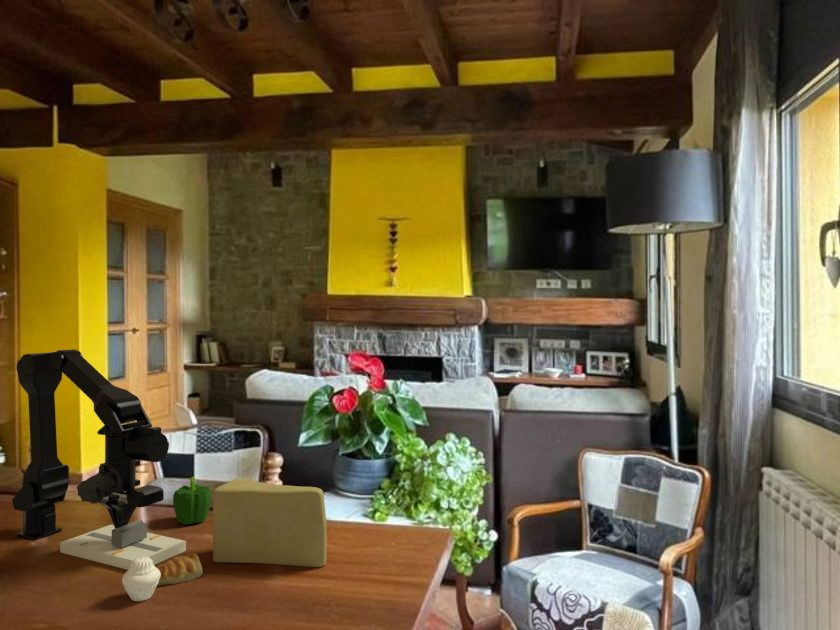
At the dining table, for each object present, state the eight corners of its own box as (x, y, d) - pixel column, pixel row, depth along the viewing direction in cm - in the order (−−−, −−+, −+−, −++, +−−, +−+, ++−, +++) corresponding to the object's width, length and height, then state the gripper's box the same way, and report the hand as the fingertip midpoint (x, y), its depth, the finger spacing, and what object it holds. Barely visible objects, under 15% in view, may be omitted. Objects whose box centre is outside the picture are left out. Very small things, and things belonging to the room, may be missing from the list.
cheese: (334, 557, 129) (335, 483, 128) (315, 576, 119) (316, 496, 119) (236, 545, 134) (237, 475, 134) (210, 563, 125) (211, 487, 124)
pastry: (153, 592, 112) (153, 570, 112) (141, 580, 117) (141, 559, 117) (205, 577, 118) (205, 557, 118) (191, 567, 123) (191, 547, 123)
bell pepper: (203, 528, 144) (204, 484, 144) (167, 527, 144) (168, 483, 144) (216, 516, 153) (216, 474, 153) (182, 515, 153) (182, 474, 153)
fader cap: (111, 544, 127) (111, 527, 127) (136, 535, 133) (136, 518, 133) (122, 547, 126) (122, 529, 126) (146, 537, 131) (146, 520, 131)
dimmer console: (60, 552, 129) (60, 541, 129) (111, 533, 140) (111, 523, 140) (137, 572, 120) (137, 560, 120) (185, 550, 131) (185, 540, 131)
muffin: (132, 588, 113) (132, 549, 113) (166, 589, 113) (166, 550, 113) (114, 605, 107) (115, 563, 107) (150, 606, 107) (151, 564, 107)
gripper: (53, 460, 127) (53, 538, 127) (118, 471, 119) (118, 554, 119) (102, 449, 137) (101, 521, 137) (165, 458, 129) (165, 535, 129)
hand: (120, 532), depth 130 cm, fingers closed
